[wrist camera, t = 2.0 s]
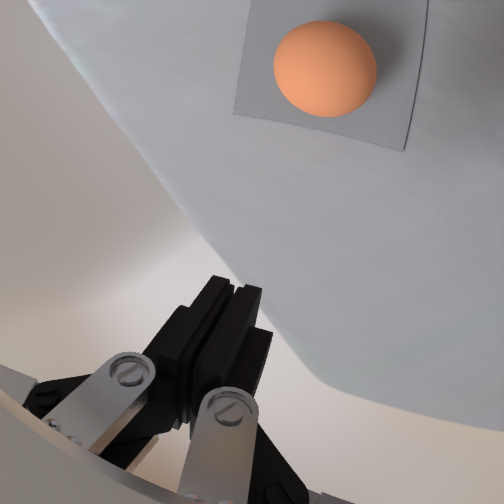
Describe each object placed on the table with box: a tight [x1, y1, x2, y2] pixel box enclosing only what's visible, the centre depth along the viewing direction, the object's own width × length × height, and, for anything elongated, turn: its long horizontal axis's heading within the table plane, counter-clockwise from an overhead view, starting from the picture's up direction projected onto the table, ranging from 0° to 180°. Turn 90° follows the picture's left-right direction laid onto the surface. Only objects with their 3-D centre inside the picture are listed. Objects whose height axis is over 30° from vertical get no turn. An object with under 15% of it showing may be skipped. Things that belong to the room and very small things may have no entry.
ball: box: [273, 21, 377, 117], centre depth 16 cm, size 6×6×6 cm
